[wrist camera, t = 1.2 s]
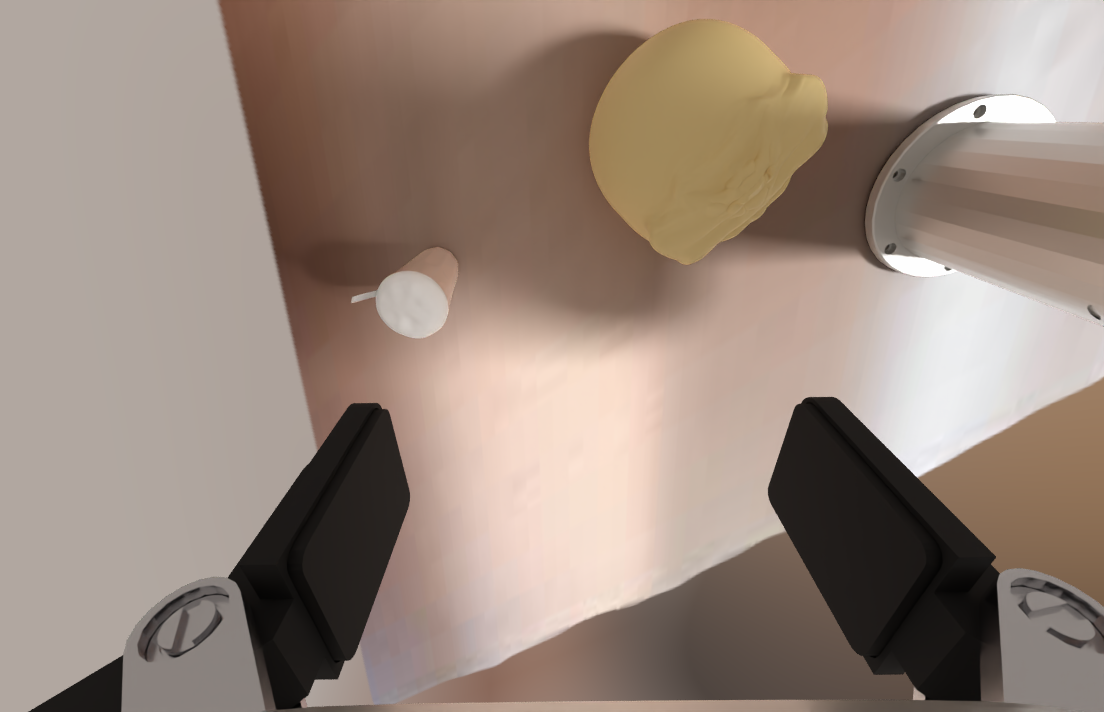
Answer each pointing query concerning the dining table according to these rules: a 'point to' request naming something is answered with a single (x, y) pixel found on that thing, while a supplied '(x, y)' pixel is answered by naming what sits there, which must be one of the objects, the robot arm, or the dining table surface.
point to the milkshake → (417, 294)
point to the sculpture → (702, 135)
